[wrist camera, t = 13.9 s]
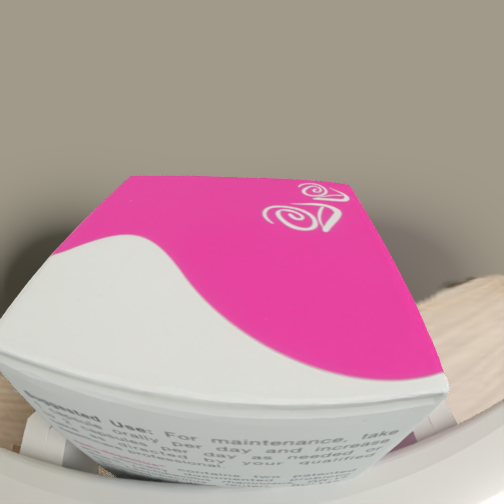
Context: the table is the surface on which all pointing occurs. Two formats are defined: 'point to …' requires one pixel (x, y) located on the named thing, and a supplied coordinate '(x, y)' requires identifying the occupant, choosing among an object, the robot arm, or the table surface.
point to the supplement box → (224, 335)
